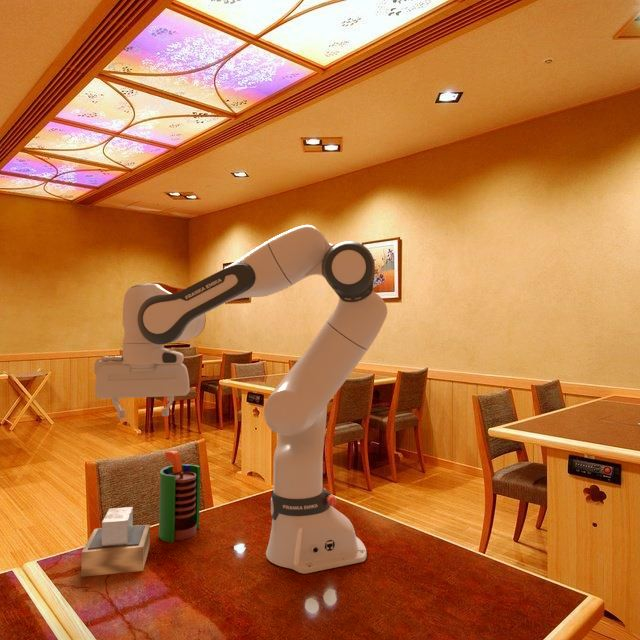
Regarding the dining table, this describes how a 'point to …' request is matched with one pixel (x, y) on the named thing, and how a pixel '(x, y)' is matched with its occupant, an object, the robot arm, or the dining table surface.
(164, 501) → the motor
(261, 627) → the dining table surface
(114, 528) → the block
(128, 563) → the stand
